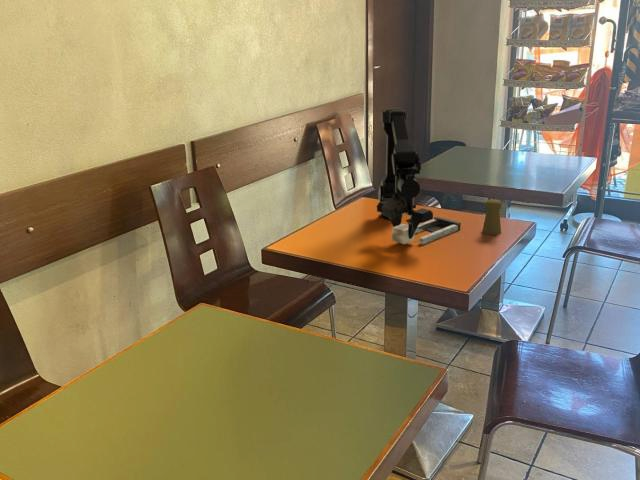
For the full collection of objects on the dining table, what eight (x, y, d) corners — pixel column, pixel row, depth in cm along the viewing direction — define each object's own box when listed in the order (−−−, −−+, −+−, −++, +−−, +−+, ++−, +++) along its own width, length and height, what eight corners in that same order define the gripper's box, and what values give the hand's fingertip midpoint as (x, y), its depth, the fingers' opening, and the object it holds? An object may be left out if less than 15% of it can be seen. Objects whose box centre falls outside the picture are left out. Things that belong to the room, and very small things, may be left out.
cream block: (392, 240, 199) (392, 227, 197) (402, 236, 202) (402, 223, 200) (404, 244, 195) (404, 230, 194) (414, 240, 198) (414, 227, 197)
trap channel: (399, 237, 205) (399, 230, 204) (436, 223, 217) (436, 216, 217) (423, 244, 198) (423, 237, 197) (460, 229, 210) (460, 222, 210)
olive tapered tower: (501, 235, 204) (503, 203, 200) (482, 234, 205) (484, 202, 201) (500, 229, 209) (502, 197, 206) (481, 228, 211) (483, 197, 207)
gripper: (364, 189, 194) (365, 236, 200) (411, 200, 181) (410, 250, 187) (388, 182, 201) (388, 227, 207) (434, 192, 188) (433, 240, 194)
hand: (403, 236), depth 198 cm, fingers closed on cream block, 5 cm apart
